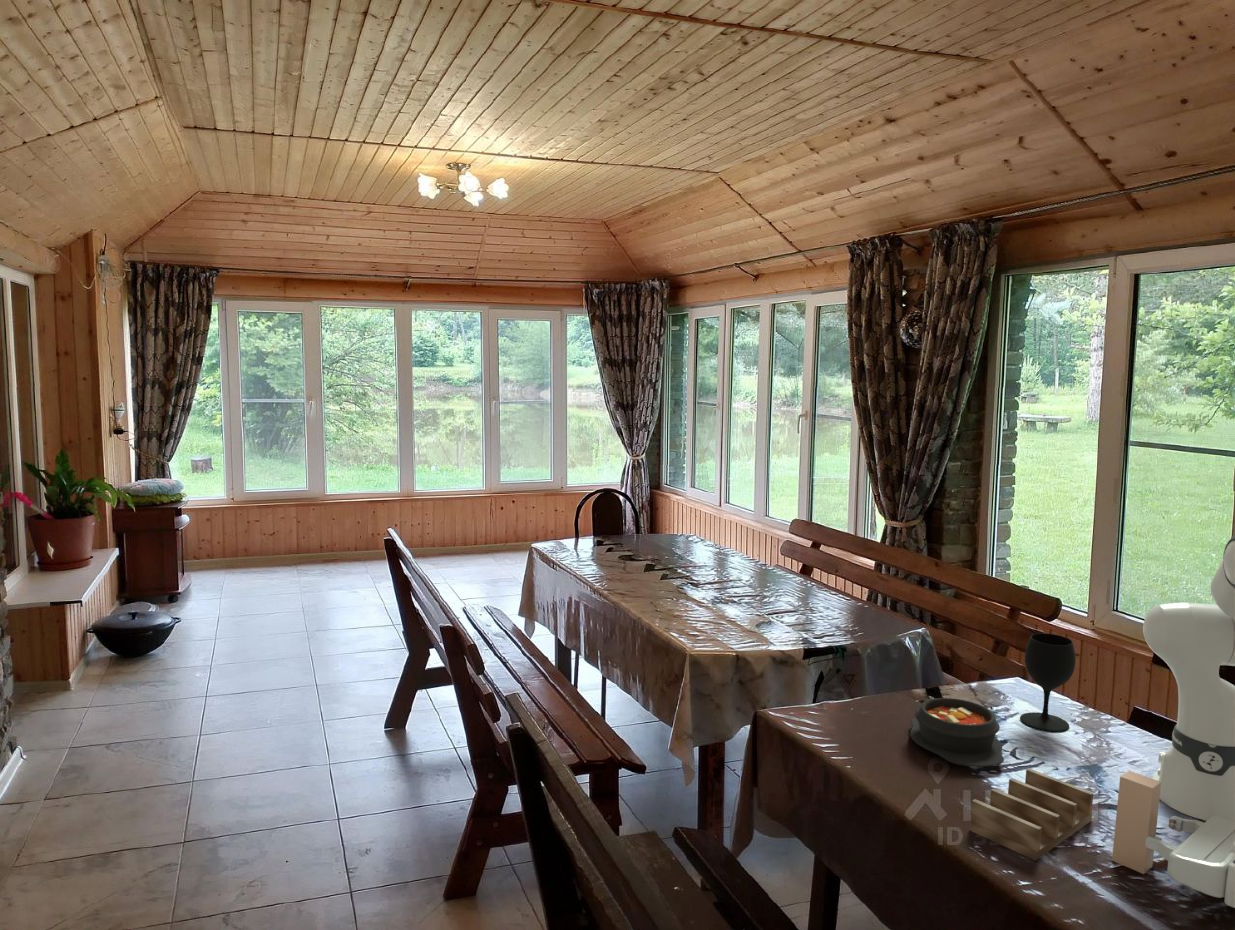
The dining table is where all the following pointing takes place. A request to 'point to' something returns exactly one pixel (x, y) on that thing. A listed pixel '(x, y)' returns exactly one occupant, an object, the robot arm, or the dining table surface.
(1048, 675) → the wine glass
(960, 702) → the casserole
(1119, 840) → the beige rectangular block
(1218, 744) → the robot arm
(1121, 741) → the dining table surface
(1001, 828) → the drying rack
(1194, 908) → the dining table surface
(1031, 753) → the dining table surface
